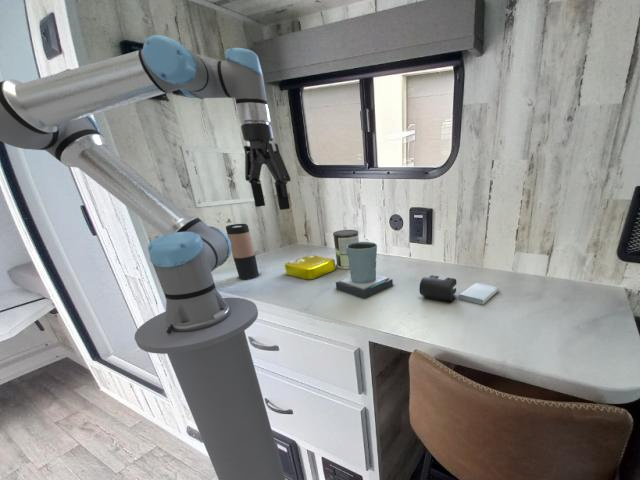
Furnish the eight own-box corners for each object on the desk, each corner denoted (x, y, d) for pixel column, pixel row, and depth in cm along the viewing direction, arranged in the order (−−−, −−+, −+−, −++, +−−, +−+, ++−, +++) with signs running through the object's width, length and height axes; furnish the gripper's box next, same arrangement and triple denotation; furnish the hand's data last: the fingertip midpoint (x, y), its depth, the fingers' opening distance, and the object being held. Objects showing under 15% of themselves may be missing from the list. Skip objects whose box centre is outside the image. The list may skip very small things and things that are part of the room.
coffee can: (331, 266, 130) (327, 233, 124) (347, 260, 138) (344, 228, 132) (350, 270, 125) (347, 235, 119) (365, 263, 133) (363, 230, 127)
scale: (364, 298, 99) (363, 289, 97) (336, 289, 107) (335, 280, 106) (392, 285, 108) (392, 277, 107) (365, 277, 117) (364, 269, 115)
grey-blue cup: (343, 279, 107) (340, 245, 102) (367, 272, 113) (365, 239, 108) (360, 286, 100) (357, 250, 95) (384, 278, 106) (383, 244, 101)
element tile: (310, 280, 115) (308, 268, 113) (284, 274, 123) (281, 263, 121) (337, 269, 127) (336, 258, 125) (312, 264, 134) (310, 253, 132)
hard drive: (483, 300, 91) (498, 286, 100) (458, 294, 96) (475, 281, 105) (483, 305, 92) (498, 291, 101) (458, 299, 97) (475, 286, 105)
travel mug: (234, 279, 119) (220, 227, 111) (247, 272, 126) (235, 223, 118) (251, 280, 117) (238, 227, 109) (263, 273, 124) (252, 223, 116)
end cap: (419, 300, 97) (419, 279, 94) (428, 292, 102) (428, 272, 99) (449, 305, 92) (449, 285, 89) (457, 297, 98) (458, 277, 95)
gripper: (295, 120, 76) (308, 208, 85) (247, 129, 91) (262, 203, 99) (266, 118, 71) (283, 212, 79) (221, 127, 85) (239, 206, 94)
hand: (272, 207), depth 89 cm, fingers open, 13 cm apart
